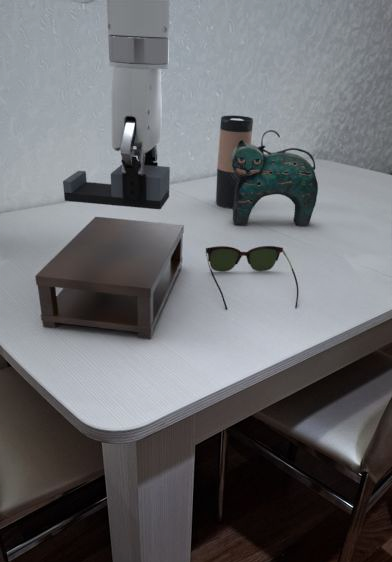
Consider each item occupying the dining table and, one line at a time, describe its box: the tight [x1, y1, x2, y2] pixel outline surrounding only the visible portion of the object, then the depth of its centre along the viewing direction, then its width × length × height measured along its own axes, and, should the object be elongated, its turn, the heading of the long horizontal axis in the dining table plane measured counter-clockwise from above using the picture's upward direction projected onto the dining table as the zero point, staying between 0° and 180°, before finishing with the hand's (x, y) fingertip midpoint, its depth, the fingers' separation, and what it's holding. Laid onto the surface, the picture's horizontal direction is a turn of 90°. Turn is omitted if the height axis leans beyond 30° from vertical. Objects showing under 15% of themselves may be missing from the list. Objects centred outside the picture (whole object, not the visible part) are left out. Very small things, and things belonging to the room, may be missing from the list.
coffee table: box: [35, 216, 185, 340], centre depth 80 cm, size 16×26×8 cm, turn 172°
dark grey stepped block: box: [62, 164, 171, 210], centre depth 73 cm, size 14×7×4 cm, turn 82°
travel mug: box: [215, 114, 254, 209], centre depth 122 cm, size 8×8×20 cm
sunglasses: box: [205, 245, 299, 311], centre depth 85 cm, size 14×15×5 cm
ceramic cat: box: [231, 129, 319, 227], centre depth 111 cm, size 20×6×20 cm, turn 95°
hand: (141, 194), depth 73 cm, fingers closed on dark grey stepped block, 6 cm apart
